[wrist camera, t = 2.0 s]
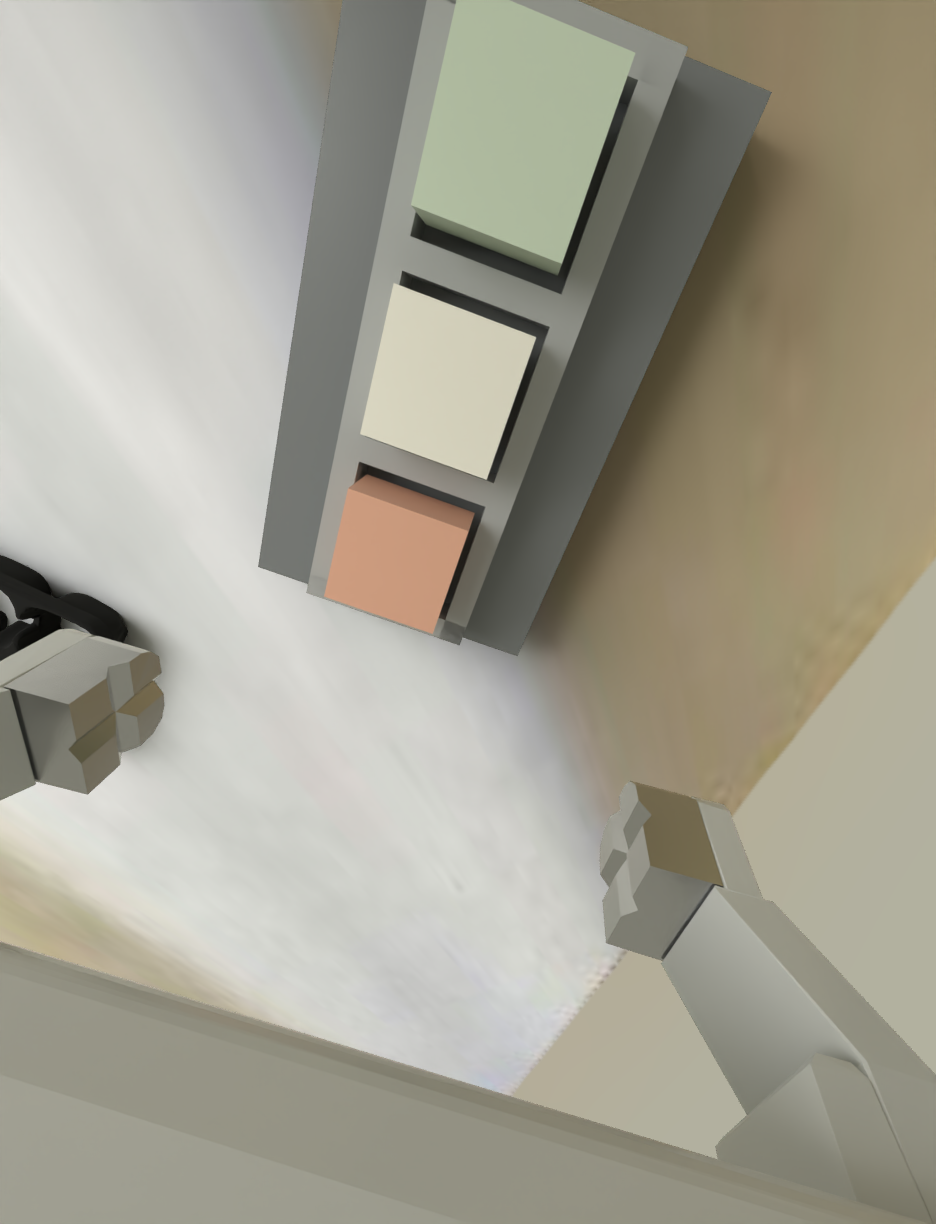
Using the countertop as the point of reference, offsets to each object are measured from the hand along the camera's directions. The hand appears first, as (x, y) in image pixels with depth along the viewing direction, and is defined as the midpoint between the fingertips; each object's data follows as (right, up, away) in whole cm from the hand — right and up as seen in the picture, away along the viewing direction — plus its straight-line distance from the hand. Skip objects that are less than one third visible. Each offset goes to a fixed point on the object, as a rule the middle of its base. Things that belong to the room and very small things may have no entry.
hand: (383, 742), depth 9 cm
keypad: (+1, +14, +18) cm, 23 cm away
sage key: (+3, +19, +11) cm, 22 cm away
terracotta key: (-2, +6, +18) cm, 19 cm away
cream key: (+1, +12, +14) cm, 19 cm away
